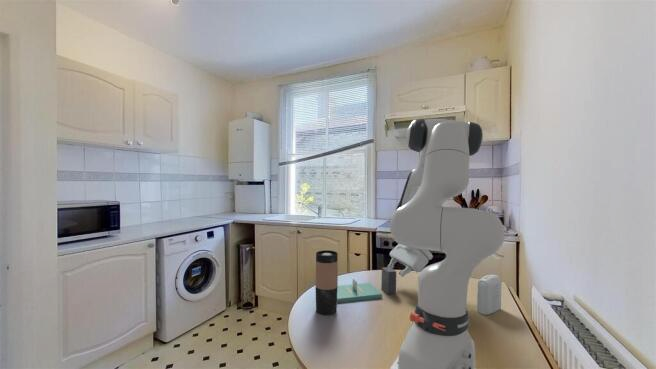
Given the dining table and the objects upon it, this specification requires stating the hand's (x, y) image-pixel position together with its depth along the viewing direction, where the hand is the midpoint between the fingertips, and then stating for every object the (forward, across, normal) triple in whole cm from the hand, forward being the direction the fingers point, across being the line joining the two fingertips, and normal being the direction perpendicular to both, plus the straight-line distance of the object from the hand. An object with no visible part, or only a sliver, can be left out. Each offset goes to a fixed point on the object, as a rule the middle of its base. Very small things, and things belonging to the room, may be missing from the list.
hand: (394, 271), depth 116 cm
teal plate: (+18, -1, -6) cm, 19 cm away
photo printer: (-11, +24, +23) cm, 35 cm away
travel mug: (+28, +10, -17) cm, 34 cm away
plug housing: (+8, 0, +4) cm, 8 cm away
